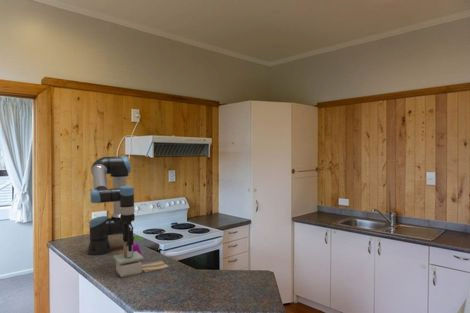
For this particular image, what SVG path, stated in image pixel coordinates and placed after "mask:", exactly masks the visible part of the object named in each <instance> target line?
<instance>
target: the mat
mask: <svg viewBox="0 0 470 313" xmlns="http://www.w3.org/2000/svg"><path fill="white" fill-rule="evenodd" d="M141 264H142V272H143V273H144V274H148V273H152V272H157V271H161V270H165V269H169V268H170V266H169V265H168V264H166V263H165V262H164V261H163V260H160V259H159V260H155V261H150V262H147V263H146V262H145V263H141Z"/></svg>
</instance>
